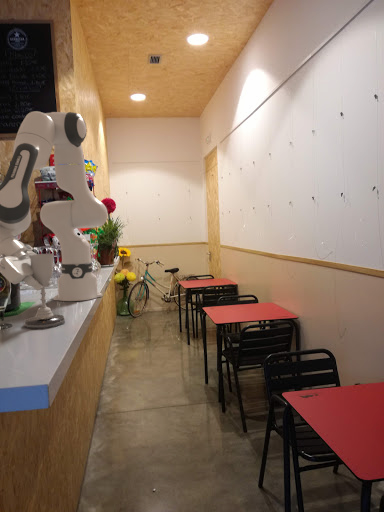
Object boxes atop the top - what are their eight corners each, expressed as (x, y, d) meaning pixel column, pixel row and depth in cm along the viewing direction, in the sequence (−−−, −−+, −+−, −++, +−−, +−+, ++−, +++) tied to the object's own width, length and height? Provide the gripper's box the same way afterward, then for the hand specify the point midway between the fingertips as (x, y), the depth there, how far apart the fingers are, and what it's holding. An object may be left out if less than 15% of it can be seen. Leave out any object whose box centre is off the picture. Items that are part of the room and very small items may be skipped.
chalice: (62, 314, 113) (59, 253, 112) (44, 319, 107) (41, 255, 105) (44, 312, 116) (41, 253, 115) (25, 317, 110) (22, 255, 109)
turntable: (26, 321, 115) (26, 316, 115) (65, 318, 118) (64, 312, 118) (22, 330, 105) (22, 324, 104) (64, 326, 108) (64, 320, 108)
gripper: (-2, 248, 100) (37, 284, 100) (31, 245, 120) (64, 275, 121) (-18, 265, 100) (21, 301, 100) (18, 259, 120) (51, 289, 121)
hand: (45, 286), depth 111 cm, fingers closed on chalice, 5 cm apart
